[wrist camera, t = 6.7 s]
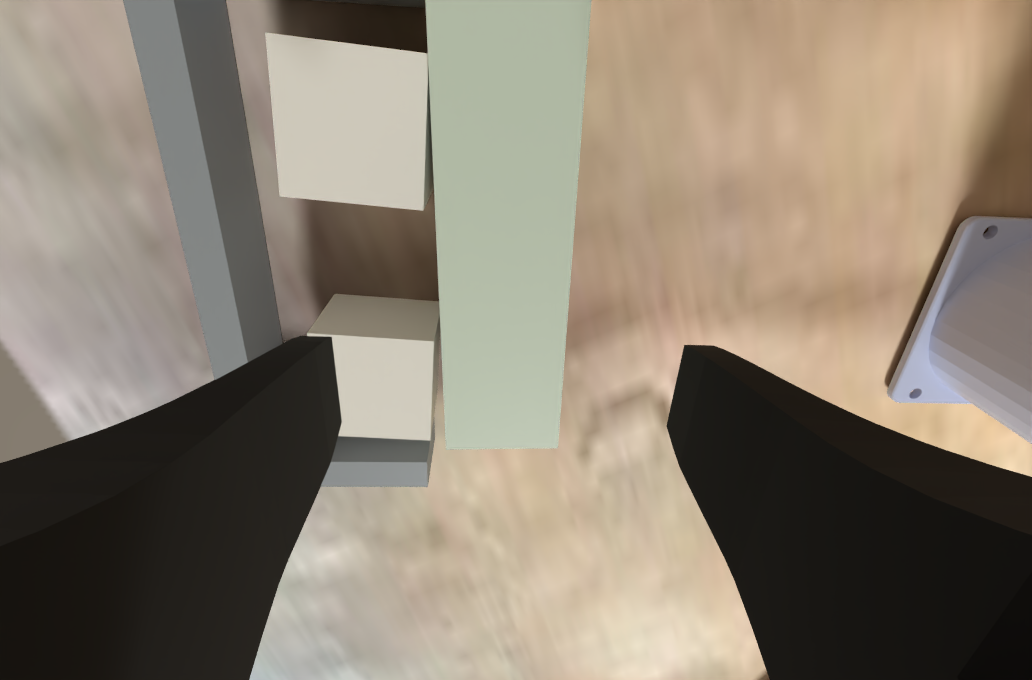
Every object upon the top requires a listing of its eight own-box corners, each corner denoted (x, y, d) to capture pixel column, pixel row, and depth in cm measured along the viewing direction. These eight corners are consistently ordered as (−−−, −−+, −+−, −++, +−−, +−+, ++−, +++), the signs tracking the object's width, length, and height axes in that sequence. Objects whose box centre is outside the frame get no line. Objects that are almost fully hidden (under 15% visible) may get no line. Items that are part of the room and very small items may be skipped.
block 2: (441, 300, 20) (433, 341, 17) (438, 388, 22) (430, 440, 19) (335, 292, 20) (306, 333, 17) (340, 382, 21) (315, 434, 18)
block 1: (439, 58, 16) (428, 53, 13) (434, 187, 18) (423, 210, 15) (308, 41, 16) (265, 32, 13) (316, 175, 18) (279, 196, 15)
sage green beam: (569, 1, 16) (593, -21, 12) (546, 388, 22) (557, 448, 19) (438, -4, 16) (424, -27, 12) (452, 389, 22) (446, 449, 19)
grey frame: (423, -41, 15) (410, -67, 12) (434, 438, 23) (427, 486, 20) (171, -59, 15) (101, -90, 12) (269, 437, 22) (240, 486, 20)
